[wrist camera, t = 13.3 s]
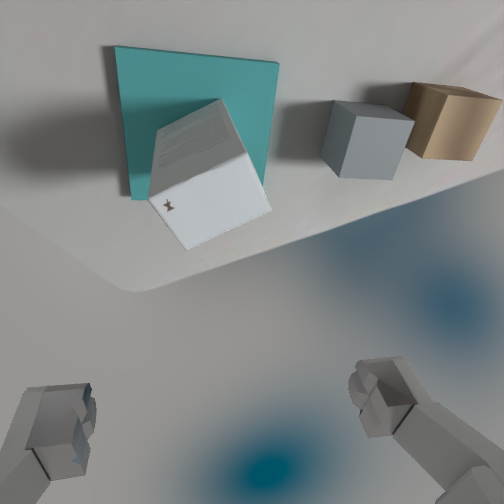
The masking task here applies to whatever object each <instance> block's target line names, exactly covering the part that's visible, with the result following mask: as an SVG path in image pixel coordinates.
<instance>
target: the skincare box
mask: <svg viewBox="0 0 504 504" xmlns="http://www.w3.org/2000/svg"><path fill="white" fill-rule="evenodd" d="M148 201H149V203H150V204H151V205H152V207H153V208H154V209H155V210H156V212H157V213H158V214H159V216H160V217H161V218H162V220H163V221H164V222H165V224H166V225H167V226H168V228H169V229H170V230H171V232H172V233H173V234H174V236H175V237H176V238H177V240H178V241H179V242H180V244H181V245H182V246H183V248H184V249H185V250H189V249H191V248H193V247H196V246H198V245H200V244H202V243H204V242H206V241H209V240H211V239H213V238H215V237H217V236H219V235H221V234H223V233H225V232H228V231H230V230H232V229H234V228H236V227H238V226H240V225H242V224H245V223H247V222H249V221H251V220H253V219H255V218H257V217H260V216H262V215H264V214H266V213H269V212H271V206H270V204H269V201H268V199H267V196H266V194H265V192H264V189H263V187H262V184H261V182H260V180H259V177H258V175H257V173H256V170H255V168H254V166H253V164H252V161H251V159H250V157H249V155H248V153H247V151H246V149H245V147H244V145H243V143H242V141H241V138H240V136H239V134H238V132H237V130H236V128H235V125H234V123H233V121H232V119H231V117H230V114H229V112H228V110H227V108H226V105H225V103H224V101H223V100H222V99H218V100H217V101H215V102H213V103H211V104H209V105H207V106H205V107H203V108H201V109H199V110H197V111H195V112H193V113H190V114H189V115H187V116H185V117H183V118H181V119H179V120H177V121H175V122H173V123H171V124H169V125H167V126H165V127H163V128H161V129H159V130H157V134H156V141H155V149H154V156H153V163H152V171H151V178H150V186H149V192H148Z"/></svg>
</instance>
